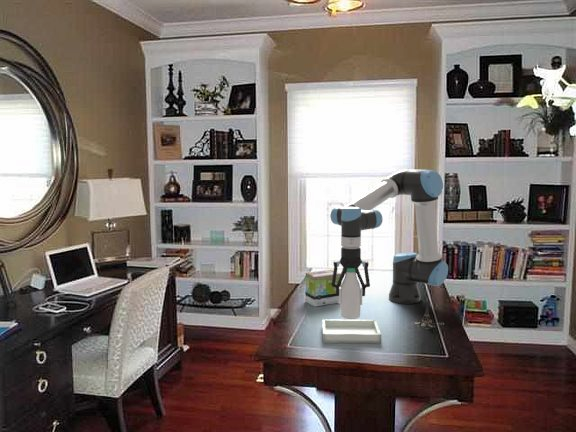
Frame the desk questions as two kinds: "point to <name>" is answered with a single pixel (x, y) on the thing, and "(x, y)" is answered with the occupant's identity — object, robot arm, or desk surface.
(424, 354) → the desk surface
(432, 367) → the desk surface
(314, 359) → the desk surface
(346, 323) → the tray
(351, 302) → the milk bottle
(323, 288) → the tea box
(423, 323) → the eiffel tower figurine
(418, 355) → the desk surface
